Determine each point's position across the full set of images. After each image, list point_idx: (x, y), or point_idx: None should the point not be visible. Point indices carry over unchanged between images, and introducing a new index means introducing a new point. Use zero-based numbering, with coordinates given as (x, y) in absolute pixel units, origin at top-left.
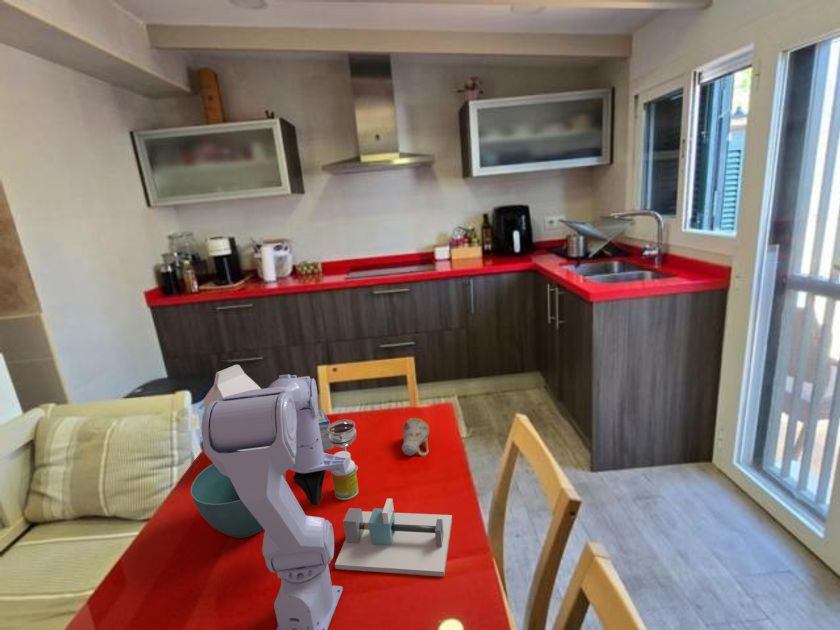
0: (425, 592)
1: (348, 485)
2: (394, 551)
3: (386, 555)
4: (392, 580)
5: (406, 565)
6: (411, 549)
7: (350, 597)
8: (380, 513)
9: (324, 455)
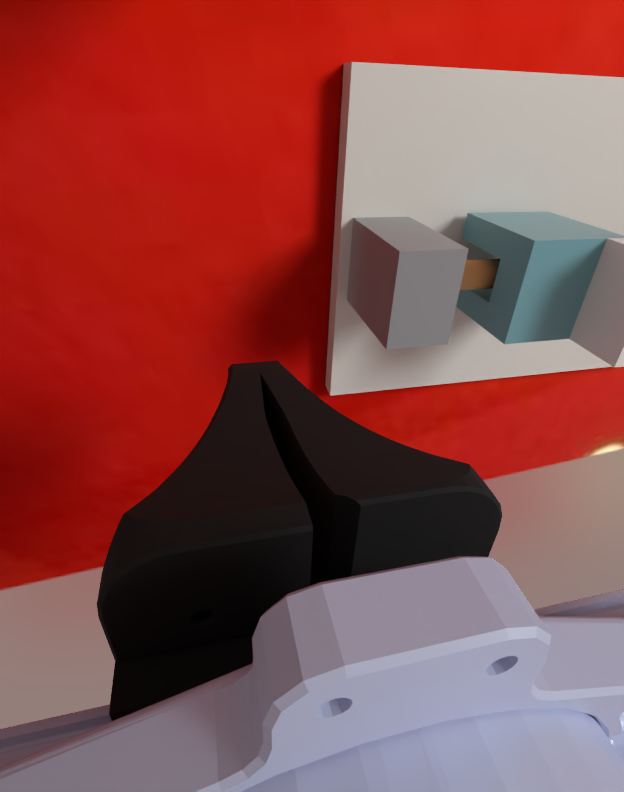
0: (574, 404)
1: None
2: None
3: None
4: (499, 389)
5: (553, 361)
6: None
7: None
8: (564, 277)
9: (610, 730)
